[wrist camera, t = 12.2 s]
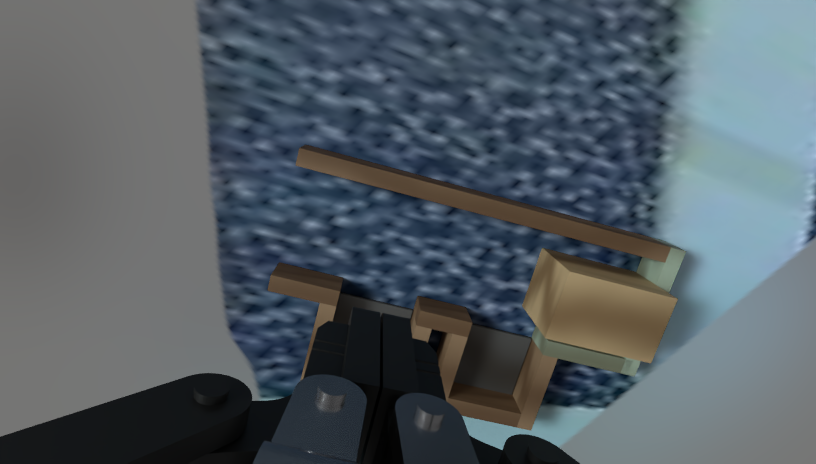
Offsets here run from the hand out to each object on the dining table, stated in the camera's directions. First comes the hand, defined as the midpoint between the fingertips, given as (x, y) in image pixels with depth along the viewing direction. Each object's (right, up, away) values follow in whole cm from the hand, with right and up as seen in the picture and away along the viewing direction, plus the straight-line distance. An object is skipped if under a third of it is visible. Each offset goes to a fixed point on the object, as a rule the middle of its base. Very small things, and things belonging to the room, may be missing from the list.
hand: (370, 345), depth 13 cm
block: (+15, -2, +28) cm, 31 cm away
